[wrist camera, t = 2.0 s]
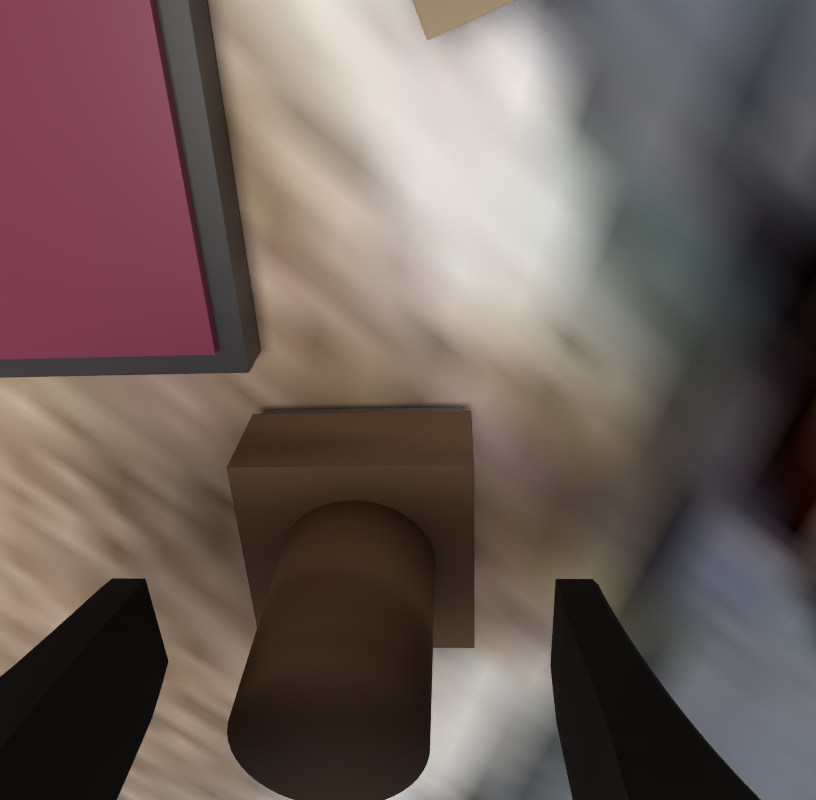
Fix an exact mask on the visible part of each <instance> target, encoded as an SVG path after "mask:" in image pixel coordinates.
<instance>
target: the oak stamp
mask: <svg viewBox="0 0 816 800" xmlns="http://www.w3.org/2000/svg"><path fill="white" fill-rule="evenodd" d="M512 1H515V0H413V3H414V6H415V8H416V11H417V14H418V17H419V19H420V22H421V25H422V28H423V30H424V33H425V36H426V39H427V41H428V40H430V39H432V38H434V37H436V36H438V35H441V34H443V33H445V32H447V31H449V30H451V29H454V28H456V27H458V26H460V25H462V24H465V23H467V22H469V21H471V20H473V19H475V18H478V17H480V16H482V15H484V14H486V13H488V12H491V11H493V10H495V9H497V8H499V7H502V6H504V5H506V4H508V3H510V2H512Z"/></svg>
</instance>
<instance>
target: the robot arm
mask: <svg viewBox="0 0 816 800" xmlns="http://www.w3.org/2000/svg"><path fill="white" fill-rule="evenodd" d="M167 665H168V658H167V655H166V651H165V648H164V644H163V640H162V637H161V633H160V630H159V626H158V623H157V619H156V615H155V612H154V608H153V605H152V601H151V597H150V594H149V590H148V587H147V583H146V580H145V579H111V580H110V581H109V582H108V583H106V584H105V585H104V586H103V587H102V588H100V589H99V590H98V591H97V592H96V593H95V594H94V595H93V596H91V597H90V598H89V599H88V600H87V601H86V602H85V603H84V604H83V605H81V606H80V607H79V608H78V609H77V610H76V611H75V612H74V613H73V614H72V615H70V616H69V617H68V618H67V619H66V620H65V621H64V622H63V623H62V624H60V625H59V626H58V627H57V628H56V629H55V630H54V631H53V632H52V633H50V634H49V635H48V636H47V637H46V638H45V639H44V640H43V641H41V642H40V643H39V644H38V645H37V646H36V647H35V648H33V649H32V650H31V651H30V652H29V653H28V654H27V655H26V656H24V657H23V658H22V659H21V660H20V661H19V662H18V663H16V664H15V665H14V666H13V667H12V668H11V669H9V670H8V671H7V672H6V673H4V674H3V675H2V676H1V677H0V800H117V798H118V795H119V793H120V791H121V789H122V786H123V784H124V782H125V779H126V777H127V775H128V773H129V770H130V768H131V766H132V764H133V761H134V759H135V757H136V754H137V752H138V750H139V747H140V745H141V743H142V740H143V738H144V736H145V733H146V731H147V728H148V726H149V724H150V721H151V719H152V716H153V713H154V710H155V706H156V703H157V700H158V697H159V693H160V690H161V686H162V683H163V679H164V675H165V672H166V668H167ZM551 674H552V684H553V694H554V703H555V712H556V721H557V727H558V732H559V737H560V742H561V746H562V751H563V756H564V760H565V765H566V770H567V775H568V779H569V784H570V788H571V793H572V798H573V800H760V799H759V798H758V797H757V795H756V794H755V793H754V792H753V791H752V790H751V789H750V788H749V787H748V786H747V785H746V784H745V783H744V782H743V781H742V780H741V779H740V778H739V777H738V776H737V775H736V774H735V772H734V771H733V770H732V769H731V768H730V767H729V766H728V765H727V764H726V763H725V761H724V760H723V759H722V758H721V757H720V756H719V755H718V754H717V753H716V751H715V750H714V749H713V748H712V747H711V746H710V744H709V743H708V742H707V741H706V740H705V739H704V737H703V736H702V735H701V734H700V733H699V731H698V730H697V729H696V728H695V727H694V725H693V724H692V723H691V722H690V720H689V719H688V718H687V717H686V715H685V714H684V713H683V712H682V710H681V709H680V708H679V707H678V705H677V704H676V703H675V701H674V700H673V699H672V698H671V696H670V695H669V694H668V692H667V691H666V690H665V688H664V687H663V686H662V684H661V683H660V681H659V680H658V679H657V677H656V676H655V674H654V673H653V672H652V670H651V669H650V667H649V666H648V664H647V663H646V662H645V660H644V659H643V657H642V656H641V655H640V653H639V652H638V650H637V649H636V647H635V646H634V644H633V643H632V641H631V640H630V638H629V636H628V635H627V633H626V632H625V630H624V629H623V627H622V625H621V624H620V622H619V621H618V619H617V617H616V616H615V614H614V612H613V611H612V609H611V607H610V605H609V604H608V602H607V600H606V598H605V597H604V595H603V593H602V591H601V589H600V587H599V585H598V584H597V583H596V582H595V581H594V580H593V579H556V586H555V602H554V618H553V634H552V650H551Z"/></svg>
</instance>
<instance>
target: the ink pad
mask: <svg viewBox="0 0 816 800" xmlns="http://www.w3.org/2000/svg"><path fill="white" fill-rule="evenodd" d="M260 351H261V350H260V344H259V337H258V330H257V324H256V317H255V311H254V304H253V298H252V291H251V285H250V278H249V272H248V265H247V258H246V252H245V245H244V239H243V232H242V226H241V219H240V213H239V206H238V200H237V193H236V186H235V180H234V173H233V167H232V160H231V154H230V147H229V141H228V134H227V128H226V121H225V115H224V108H223V101H222V95H221V88H220V82H219V75H218V69H217V62H216V56H215V49H214V43H213V36H212V29H211V23H210V16H209V10H208V3H207V0H0V377H48V376H98V375H148V374H197V373H247V372H249V371H250V369H251V368H252V366H253V364H254V362H255V360H256V359H257V357H258V355H259V353H260Z"/></svg>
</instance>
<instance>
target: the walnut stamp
mask: <svg viewBox="0 0 816 800" xmlns="http://www.w3.org/2000/svg"><path fill="white" fill-rule="evenodd" d="M227 471H228V476H229V481H230V486H231V492H232V497H233V502H234V507H235V513H236V518H237V523H238V529H239V534H240V539H241V544H242V550H243V555H244V560H245V565H246V571H247V576H248V581H249V586H250V592H251V597H252V602H253V607H254V613H255V618H256V623H257V631H256V634H255V637H254V640H253V643H252V647H251V650H250V653H249V656H248V659H247V663H246V666H245V669H244V672H243V675H242V679H241V682H240V685H239V688H238V691H237V695H236V698H235V701H234V704H233V707H232V711H231V714H230V717H229V721H228V728H227V735H228V742H229V745H230V748H231V751H232V753H233V755H234V756H235V758H236V760H237V761H238V763H239V764H240V765H241V767H242V768H243V769H244V770H245V771H246V772H247V773H248V774H249V775H250V776H251V777H253V778H254V779H255V780H256V781H257V782H259V783H260V784H262V785H264V786H265V787H267V788H268V789H270V790H272V791H274V792H276V793H278V794H280V795H283V796H285V797H288V798H290V799H294V800H385V799H388V798H390V797H392V796H395V795H396V794H398V793H400V792H402V791H404V790H405V789H406V788H408V787H409V786H410V785H412V784H413V783H414V782H415V781H416V780H417V779H418V777H419V776H420V775H421V773H422V772H423V770H424V768H425V766H426V764H427V762H428V758H429V754H430V727H431V692H432V658H433V648H474V462H473V441H472V420H471V411H463V407H429V408H365V409H301V410H266V411H265V413H264V414H253V415H252V417H251V419H250V421H249V423H248V425H247V427H246V429H245V431H244V434H243V436H242V438H241V440H240V442H239V444H238V446H237V448H236V450H235V452H234V454H233V456H232V458H231V460H230V462H229V464H228V466H227Z"/></svg>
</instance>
